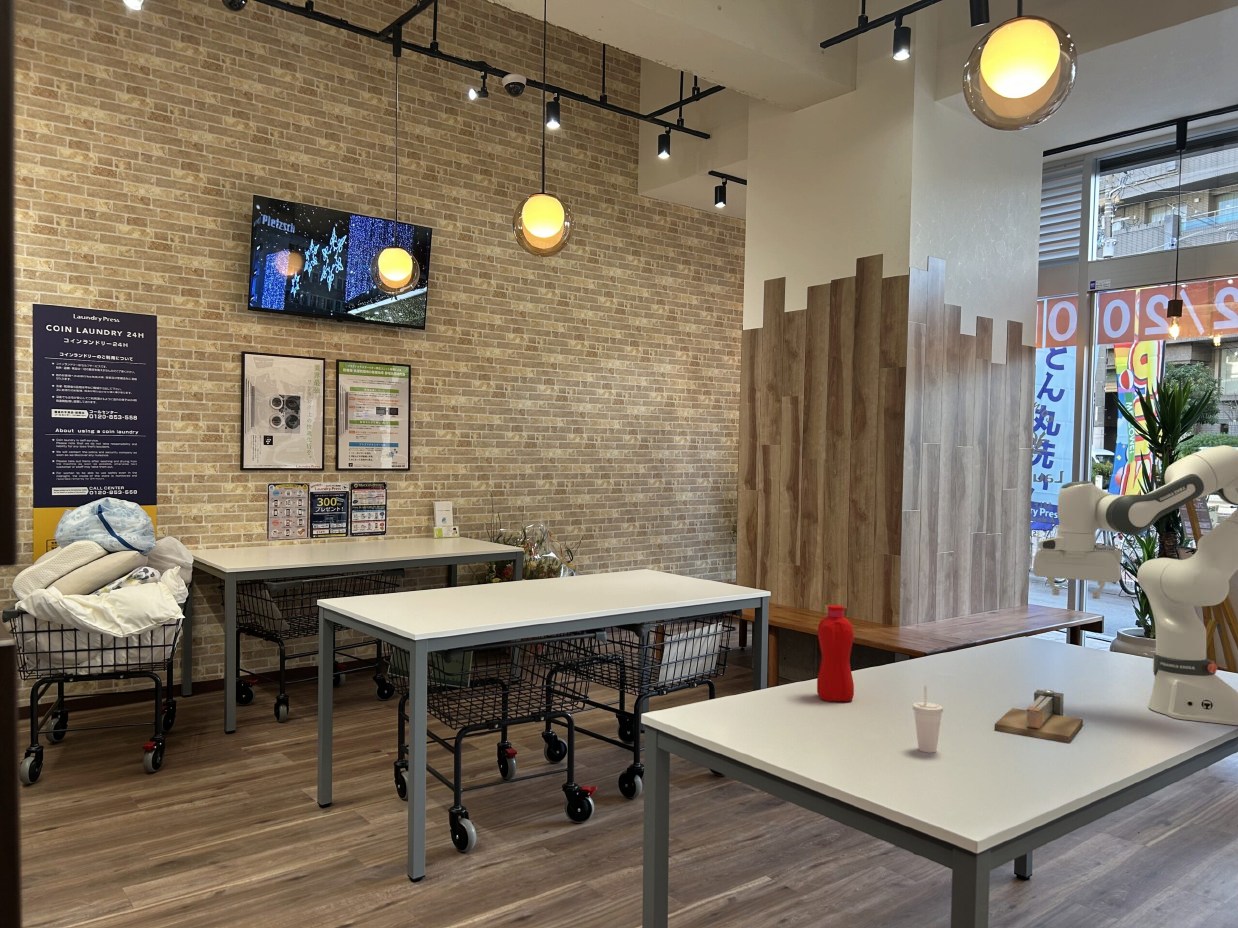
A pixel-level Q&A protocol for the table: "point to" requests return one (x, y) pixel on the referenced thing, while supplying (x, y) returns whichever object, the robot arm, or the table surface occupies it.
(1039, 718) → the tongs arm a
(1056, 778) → the table surface
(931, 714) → the smoothie
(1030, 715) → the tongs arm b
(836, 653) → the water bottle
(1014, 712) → the walnut board
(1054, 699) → the pivot block
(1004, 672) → the table surface
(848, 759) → the table surface
